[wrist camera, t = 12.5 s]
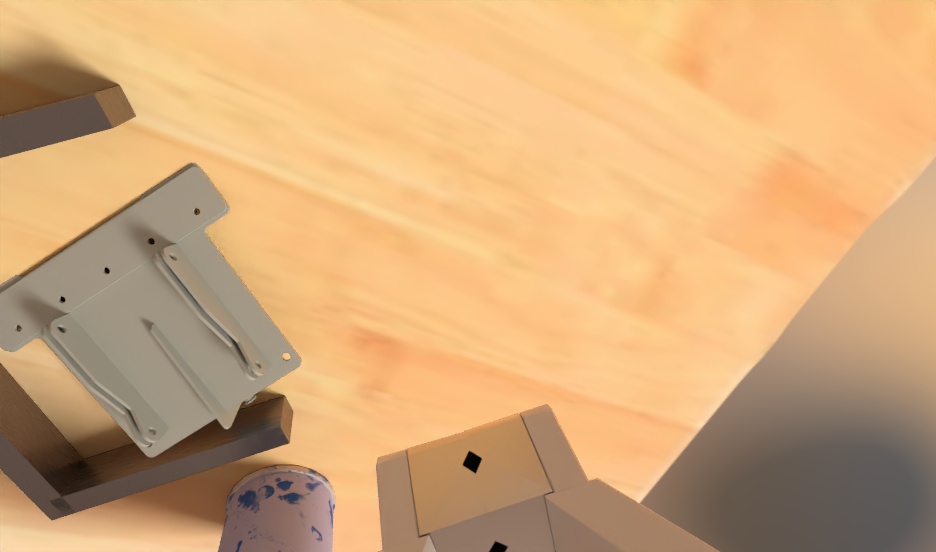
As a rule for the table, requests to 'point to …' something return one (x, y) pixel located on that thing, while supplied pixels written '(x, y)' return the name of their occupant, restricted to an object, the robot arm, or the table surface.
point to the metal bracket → (152, 317)
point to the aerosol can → (280, 512)
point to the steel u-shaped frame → (34, 436)
